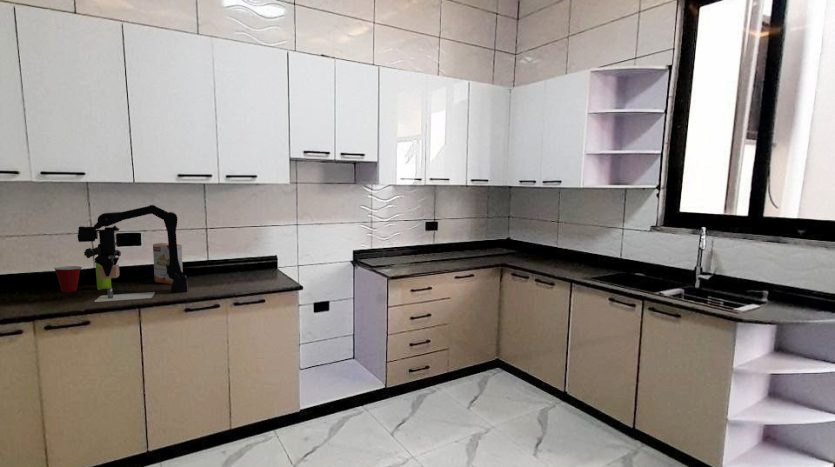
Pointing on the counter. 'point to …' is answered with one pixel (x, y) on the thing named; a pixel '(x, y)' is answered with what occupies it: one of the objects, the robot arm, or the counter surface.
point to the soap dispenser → (102, 280)
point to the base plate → (125, 296)
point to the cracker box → (164, 261)
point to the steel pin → (110, 292)
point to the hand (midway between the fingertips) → (109, 275)
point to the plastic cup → (68, 277)
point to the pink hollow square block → (113, 273)
